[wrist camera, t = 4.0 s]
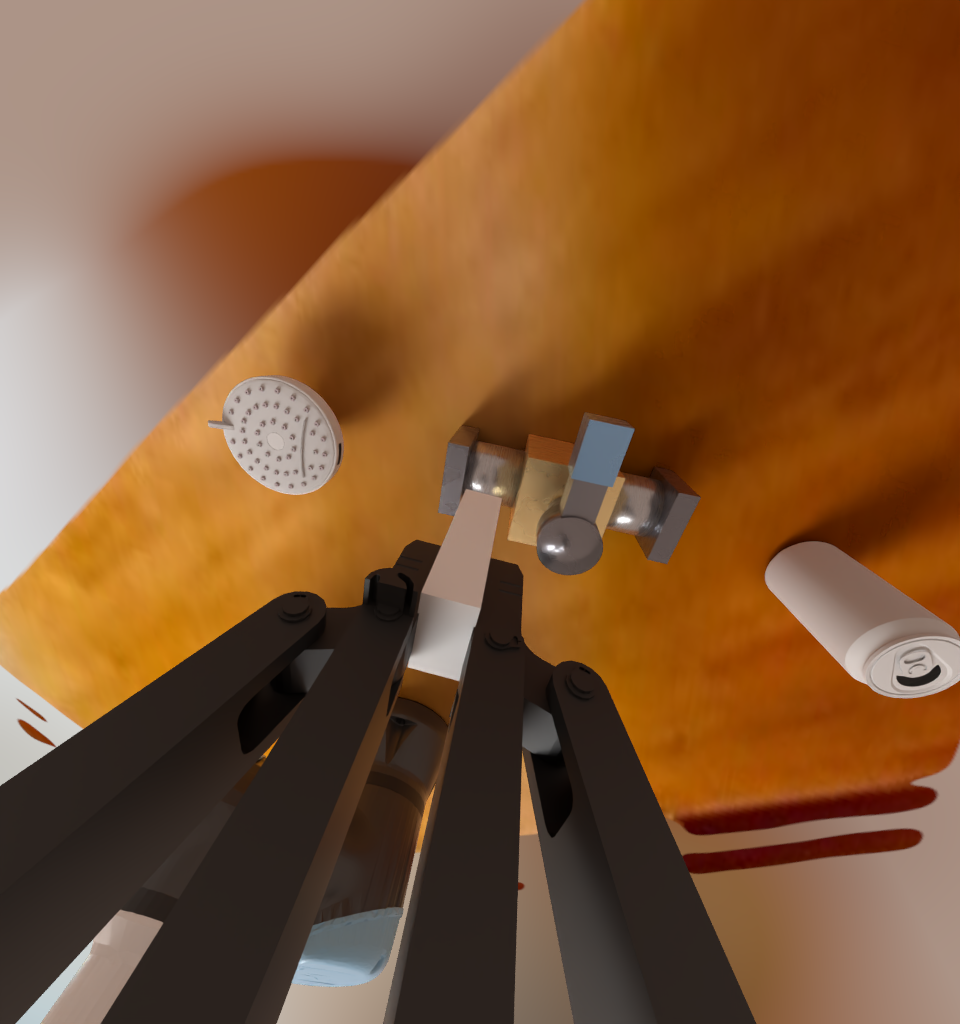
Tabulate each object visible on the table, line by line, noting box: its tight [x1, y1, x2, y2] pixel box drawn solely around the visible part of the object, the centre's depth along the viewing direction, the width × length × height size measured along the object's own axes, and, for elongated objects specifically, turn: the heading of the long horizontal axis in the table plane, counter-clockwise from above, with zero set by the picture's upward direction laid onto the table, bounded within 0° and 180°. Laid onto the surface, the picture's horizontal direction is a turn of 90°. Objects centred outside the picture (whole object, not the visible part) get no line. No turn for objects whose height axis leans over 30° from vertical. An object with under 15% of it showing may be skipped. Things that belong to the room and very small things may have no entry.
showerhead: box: [208, 375, 344, 495], centre depth 31 cm, size 9×7×10 cm
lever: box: [536, 412, 635, 575], centre depth 22 cm, size 10×4×2 cm, turn 171°
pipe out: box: [606, 467, 701, 564], centre depth 31 cm, size 6×6×6 cm
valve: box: [507, 434, 625, 546], centre depth 29 cm, size 7×7×10 cm
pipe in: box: [438, 425, 526, 516], centre depth 31 cm, size 6×6×6 cm
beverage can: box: [765, 541, 960, 698], centre depth 29 cm, size 6×6×12 cm
